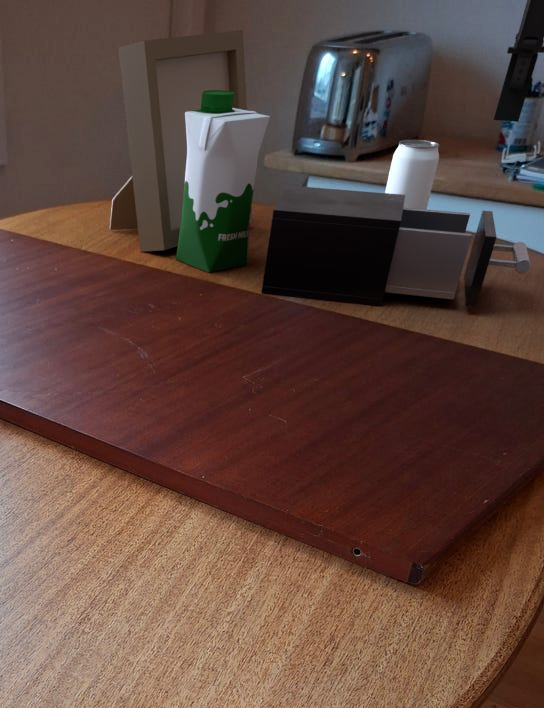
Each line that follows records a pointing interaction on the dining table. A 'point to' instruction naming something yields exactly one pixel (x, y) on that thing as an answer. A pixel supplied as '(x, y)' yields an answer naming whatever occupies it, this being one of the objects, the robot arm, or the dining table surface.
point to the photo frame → (168, 124)
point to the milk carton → (219, 182)
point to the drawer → (446, 254)
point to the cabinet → (332, 244)
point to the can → (413, 172)
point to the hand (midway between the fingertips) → (506, 119)
